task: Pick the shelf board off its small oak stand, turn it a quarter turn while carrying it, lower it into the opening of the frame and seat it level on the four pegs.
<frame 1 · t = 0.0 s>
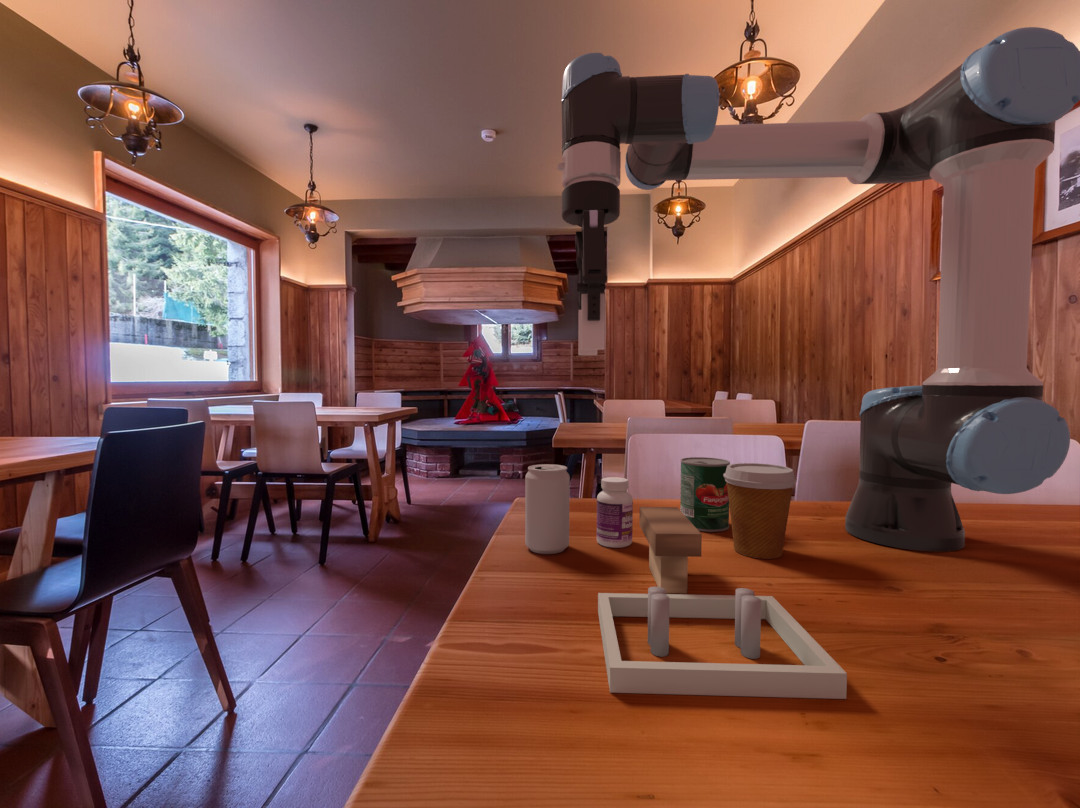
hand: (590, 353, 67), 28 cm above the table, tool pointing down, fingers open, 13 cm apart
canned tomato: (704, 526, 86), on the table
peg frame: (702, 648, 46), on the table
disposable coffee cup: (757, 552, 73), on the table
board: (667, 539, 62), point 5 cm above the table, touching stand block
beverage can: (547, 549, 74), on the table
pill bottle: (614, 544, 77), on the table
stand block: (666, 579, 62), on the table
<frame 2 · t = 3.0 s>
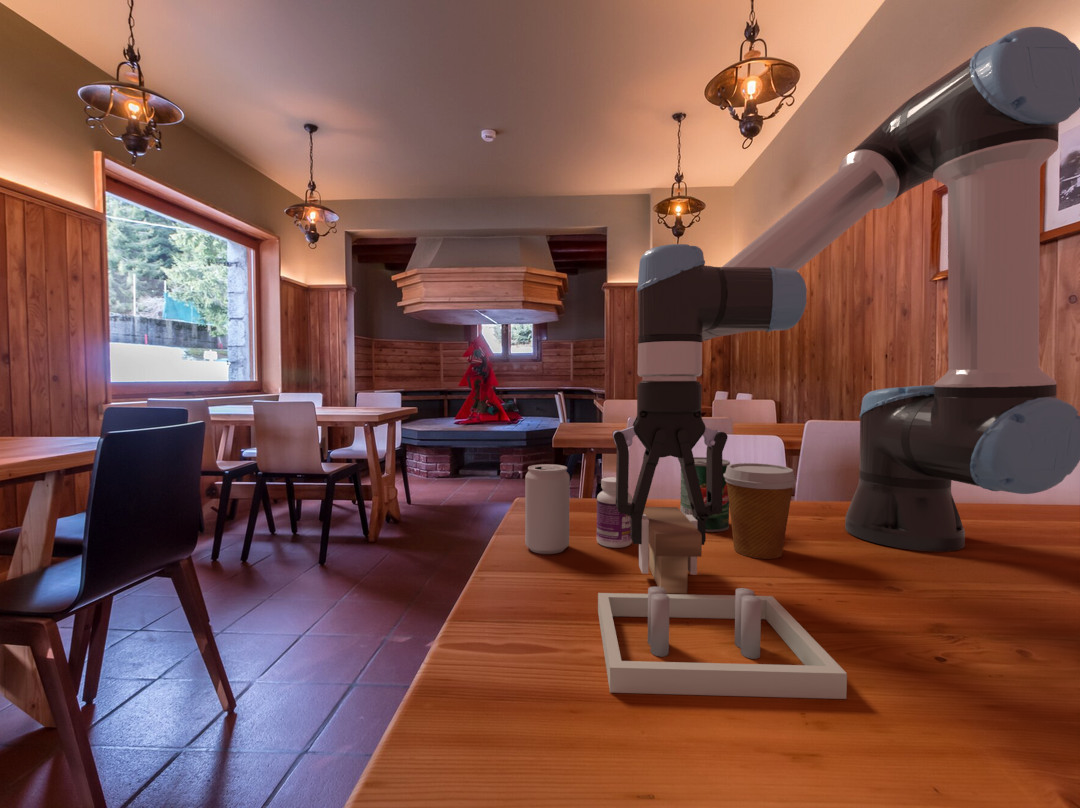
hand: (667, 569, 62), 1 cm above the table, tool pointing down, fingers closed on board, 5 cm apart
board: (667, 539, 62), point 5 cm above the table, touching gripper, stand block
everything else where it was.
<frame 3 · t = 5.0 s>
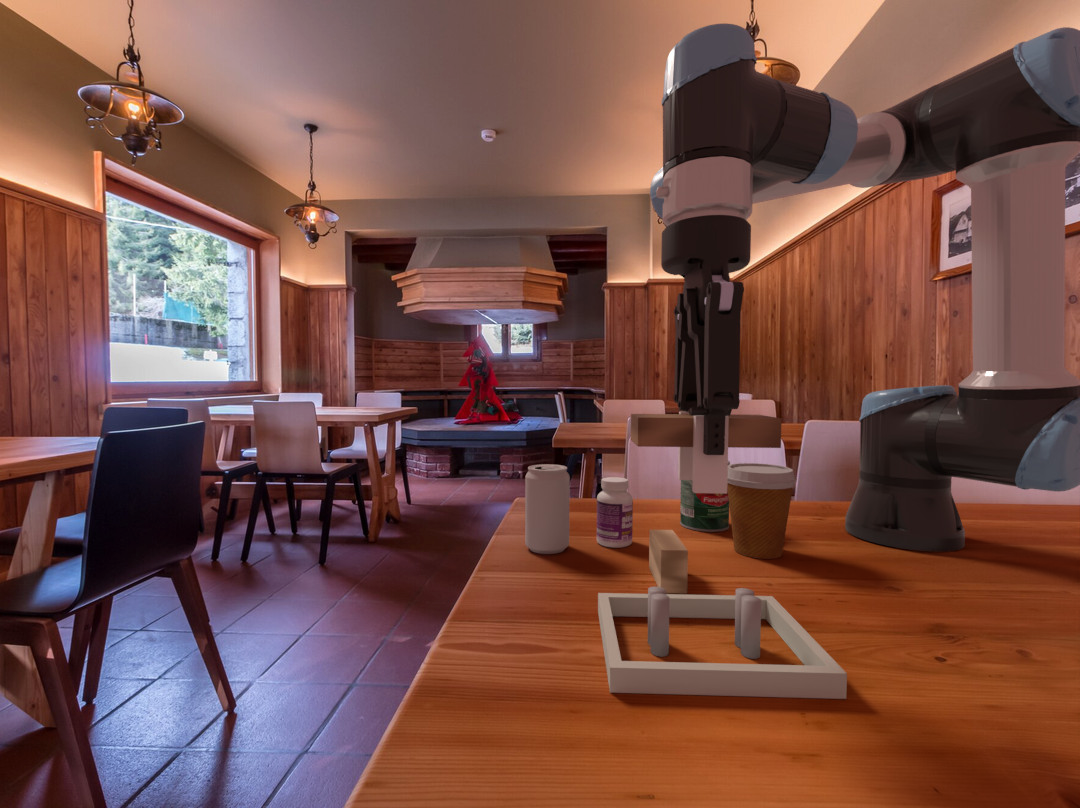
hand: (700, 484, 46), 15 cm above the table, tool pointing down, fingers closed on board, 5 cm apart
board: (701, 443, 46), point 19 cm above the table, touching gripper
everything else where it was.
when the fingers open (2 cm above the table, at t = 7.0 s): board stays where it is, resting on peg frame.
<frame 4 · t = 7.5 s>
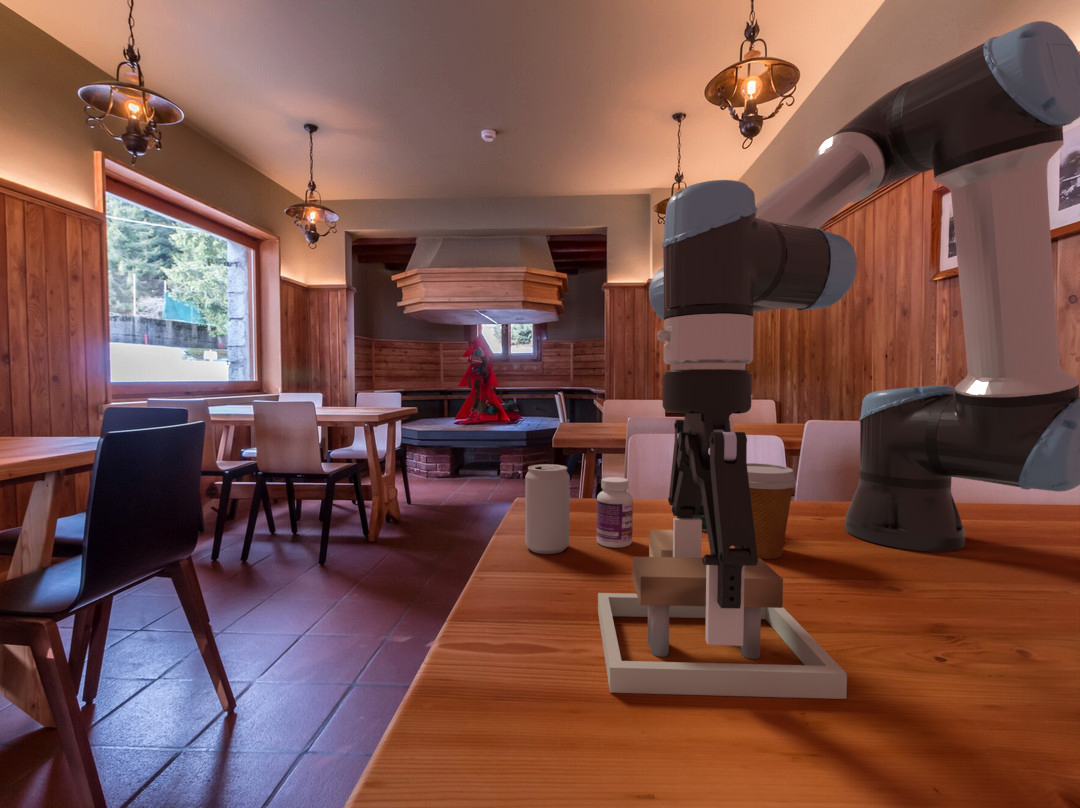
hand: (702, 608, 46), 4 cm above the table, tool pointing down, fingers open, 11 cm apart
board: (703, 594, 46), point 5 cm above the table, touching peg frame
everything else where it was.
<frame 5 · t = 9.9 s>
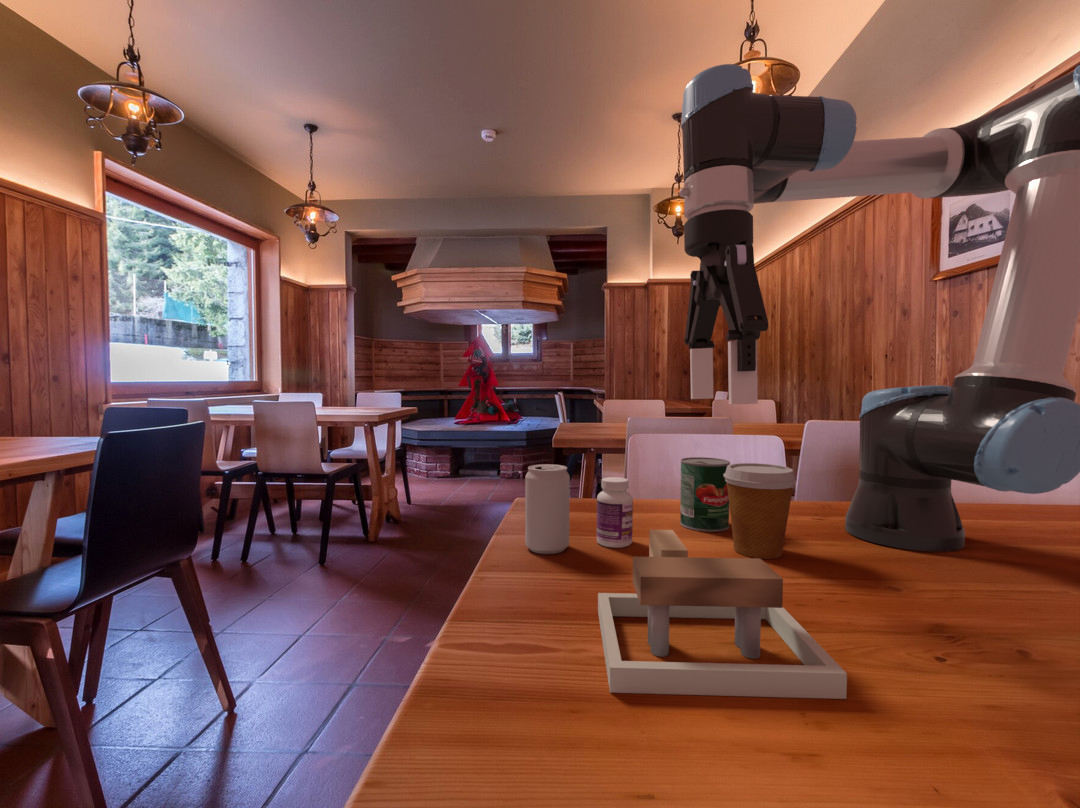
hand: (720, 401, 60), 22 cm above the table, tool pointing down, fingers open, 13 cm apart
nothing on the table moved.
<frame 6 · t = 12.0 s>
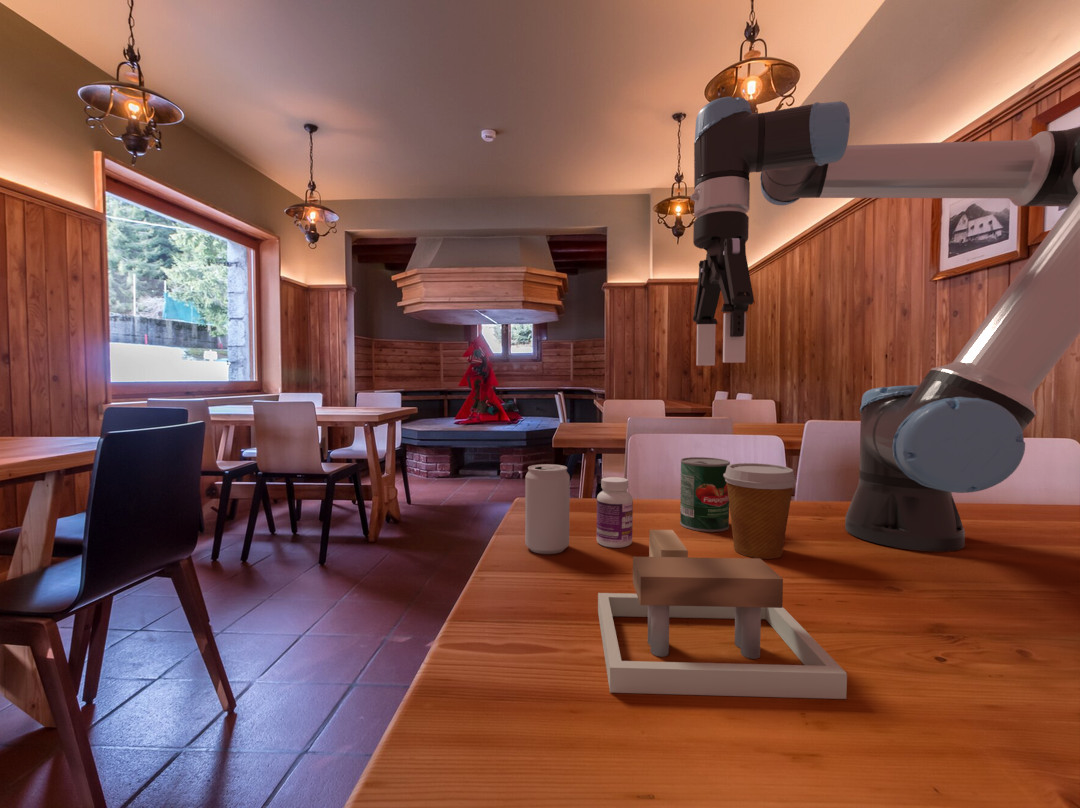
hand: (718, 364, 75), 27 cm above the table, tool pointing down, fingers open, 13 cm apart
nothing on the table moved.
at the end: board 0.0 cm off-centre on the peg frame, point 5.0 cm above the peg frame's base; board tilted 0°; the gripper is holding nothing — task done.
